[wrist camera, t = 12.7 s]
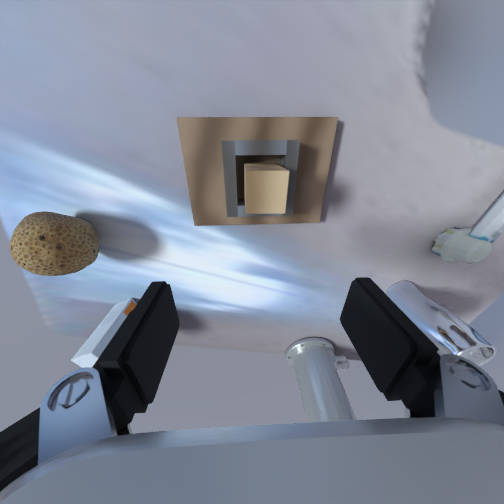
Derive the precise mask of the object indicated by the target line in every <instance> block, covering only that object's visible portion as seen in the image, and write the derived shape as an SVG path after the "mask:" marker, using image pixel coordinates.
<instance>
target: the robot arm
mask: <svg viewBox="0 0 504 504" xmlns="http://www.w3.org/2000/svg"><path fill="white" fill-rule="evenodd" d="M340 321H341V324H342V326H343V328H344V329H345V331H346V333H347V335H348V337H349V338H350V340H351V342H352V344H353V346H354V347H355V349H356V351H357V353H358V354H359V356H360V358H361V360H362V362H363V363H364V365H365V367H366V369H367V370H368V372H369V374H370V375H371V378H372V379H373V381H374V383H375V385H376V387H377V388H378V390H379V391H380V392H382V393H384V395H385V397H386V399H387V401H396V400H402V402H403V403H404V405H405V415H404V418H395V419H375V420H357V418H356V416H355V414H354V411H353V409H352V407H351V404H350V402H349V399H348V397H347V395H346V392H345V390H344V388H343V385H342V383H341V381H340V378H339V376H338V373H337V371H336V370H337V368H349V363H348V361H347V360H346V357H345V355H339V356H336V355H334V348H333V346H332V344H331V343H330V342H329V341H328V340H325V339H322V338H315V337H314V338H306V339H302V340H300V341H297V342H295V343H294V344H292V345H291V346H290V347H289V348H288V350H287V352H286V360H287V363H288V364H289V365H290V366H292V367H293V368H294V369H295V373H296V377H297V381H298V386H299V390H300V394H301V398H302V402H303V407H304V411H305V415H306V419H307V423H293V424H275V425H256V426H238V427H222V428H204V429H187V430H174V431H161V432H150V433H136V434H132V430H131V427H130V422H131V421H132V419H133V416H134V414H135V413H145V412H146V409H147V406H148V404H150V403H152V402H153V400H154V398H155V394H156V392H157V389H158V386H159V383H160V380H161V378H162V375H163V372H164V369H165V366H166V363H167V361H168V358H169V355H170V352H171V349H172V346H173V344H174V341H175V338H176V335H177V332H178V329H179V319H178V315H177V311H176V307H175V303H174V299H173V295H172V291H171V287H170V285H169V284H167V283H166V282H165V281H159V282H152V283H151V284H150V286H149V287H148V289H147V290H146V292H145V293H144V295H143V296H142V298H141V299H140V301H139V302H138V304H137V305H136V307H135V308H134V309H133V310H132V311H131V312H130V313H129V314H128V316H127V317H126V319H125V320H124V321H123V323H122V324H121V326H120V327H119V329H118V330H117V332H116V333H115V335H114V336H113V338H112V339H111V341H110V342H109V343H108V345H107V346H106V348H105V349H104V351H103V352H102V354H101V355H100V357H99V358H98V360H97V361H96V362H95V364H94V365H93V367H92V368H90V367H85V368H81V369H78V370H75V371H73V372H71V373H69V374H67V375H66V376H64V377H63V378H61V379H60V380H59V381H58V382H57V383H55V384H54V385H53V386H52V387H51V389H50V390H49V391H48V392H47V393H46V395H45V397H44V398H43V400H42V403H41V407H40V408H38V409H37V410H35V411H33V412H32V413H30V414H29V415H27V416H25V417H24V418H22V419H21V420H19V421H18V422H16V423H14V424H13V425H11V426H9V427H8V428H6V429H5V430H3V431H2V432H0V504H504V393H503V392H502V391H500V390H498V388H497V385H496V384H495V382H494V380H493V379H492V378H491V377H490V376H489V374H488V373H486V372H485V371H484V370H483V369H482V368H481V367H479V366H478V365H476V364H475V363H473V362H472V361H470V360H468V359H466V358H464V357H461V356H458V355H455V354H443V355H442V356H440V355H439V354H438V353H437V351H438V350H439V348H438V347H437V346H436V345H435V344H434V343H433V342H432V341H431V340H430V339H429V338H428V337H427V336H426V335H425V334H424V333H423V332H422V331H421V330H420V329H419V328H418V327H417V326H416V325H415V324H414V323H413V322H412V321H411V320H410V318H409V317H408V316H407V315H406V314H405V313H404V312H403V311H402V310H401V309H400V308H399V307H398V306H397V305H396V304H395V303H394V302H393V301H392V300H391V299H390V298H389V297H388V296H387V295H386V294H385V293H384V292H383V291H382V290H381V289H380V288H379V287H378V286H377V285H376V284H375V283H374V282H373V281H372V280H371V279H370V278H368V277H367V278H356V279H355V280H354V281H352V283H351V286H350V289H349V292H348V295H347V298H346V301H345V304H344V307H343V310H342V313H341V317H340Z"/></svg>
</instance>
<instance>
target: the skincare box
mask: <svg viewBox="0 0 504 504" xmlns="http://www.w3.org/2000/svg"><path fill="white" fill-rule="evenodd" d="M136 305H137V303H136V302H135V301H134V300H133V298H130V299H127V300H125V301H122V302H120V303H117V304H115V306H114V307H113V308H112V309H111V311H110V312H109V313H108V314H107V316H106V317H105V318H104V319H103V321H102V322H101V323H100V324H99V326H98V327H97V328H96V329H95V331H94V332H93V333H92V334H91V336H90V337H89V338H88V339H87V341H86V342H85V343H84V344H83V346H82V347H81V348H80V349H79V351H78V352H77V353H76V354H75V356H74V357H73V358H72V359H71V361H73V362H74V363H76V364H78V365H79V366H81V367H82V368H85V367H90V368H92V367H93V365H94V364H95V362H96V361H97V360H98V358H99V357H100V355H101V354H102V352H103V351H104V349H105V348H106V346H107V345H108V343H109V342H110V341H111V339H112V338H113V336H114V335H115V333H116V332H117V330H118V329H119V327H120V326H121V324H122V323H123V321H124V320H125V319H126V317H127V316H128V314H129V313H130V312H131V311H132V310H133V309H134V308H135V307H136Z"/></svg>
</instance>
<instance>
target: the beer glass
mask: <svg viewBox="0 0 504 504" xmlns="http://www.w3.org/2000/svg"><path fill="white" fill-rule="evenodd" d="M386 295H387V296H388V297H389V298H390V299H391V300H392V301H393V302H394V303H395V304H396V305H397V306H398V307H399V308H400V309H401V310H402V311H403V312H404V313H405V314H406V315H407V316H408V317H409V318H410V320H411V321H412V322H413V323H414V324H415V325H416V326H417V327H418V328H419V329H420V330H421V331H422V332H423V333H424V334H425V335H426V336H427V337H428V338H429V339H430V340H431V341H432V342H433V343H434V344H435V345H436V346H437V347H438V348H439V350H438V351H437V353H438V354H439V355H440V356H442V355H443V354H455V355H458V356H461V357H464V358H466V359H468V360H470V361H472V362H473V363H475V364H476V365H478V366H479V367H480V366H482V365H484V364H486V363H487V362H489V361H490V360H491V359H492V358H493V357H494V356H495V354H496V348H494V347H493V346H492V345H491V344H490V343H489V342H487V341H486V340H485V339H484V338H483V337H482V336H481V335H480V334H479V333H478V332H476V331H475V330H474V329H473V328H472V327H471V326H469V325H468V324H467V323H466V322H464V321H463V320H462V319H460V318H459V317H458V316H456V315H455V314H453V313H452V312H450V311H448V310H447V309H445V308H443V307H442V306H440V305H438V304H437V303H435V302H433V301H431V300H430V299H428V298H427V297H425V296H424V295H423V294H422V293H421V292H420V291H419V290H418V289H417V288H416V286H415V285H414V284H413V283H411V282H409V281H401V282H397V283H395V284H393V285H392V286H391V287H389V289H388V290H387V291H386Z"/></svg>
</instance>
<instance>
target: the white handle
mask: <svg viewBox="0 0 504 504" xmlns="http://www.w3.org/2000/svg"><path fill="white" fill-rule="evenodd" d="M503 232H504V192H503V193H502V195H501V196H500V197H499V198H498V199H497V200H496V202H495V203H494V204H493V205H492V206H491V208H490V209H489V210H488V211H487V212H486V214H485V215H484V216H483V217H482V218H481V220H480V221H479V222H478V223H477V224H476V225H475V227H474V228H473V229H472V228H463V229H460V228H456V227H455V228H449V229H448V230H447V231H445V232H444V233H442V234H439V235H438V236H437V237H436V239H435V240H434V241H436V242H435V245H434V247H432V253H434V254H436V255H438V256H441V259H443V260H445V261H447V262H449V263H453V262H457V261H462V262H466V263H478V262H481V261H482V260H484V259H485V258H486V257H487V256H488V255H489V254H490V253H491V251H492V248H493V245H492V242H493V241H494V240H495V239H496V238H497V237H499V236H500V235H501V234H502V233H503Z"/></svg>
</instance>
